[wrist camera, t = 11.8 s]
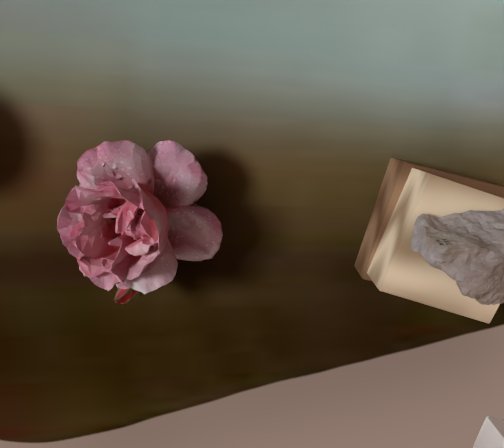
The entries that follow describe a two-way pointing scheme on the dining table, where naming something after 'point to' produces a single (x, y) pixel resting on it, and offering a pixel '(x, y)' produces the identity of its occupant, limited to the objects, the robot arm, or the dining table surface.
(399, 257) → the tower top
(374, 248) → the tower base
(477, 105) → the dining table surface
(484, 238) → the stone
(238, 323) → the dining table surface
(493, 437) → the robot arm
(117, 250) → the flower
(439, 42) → the dining table surface
